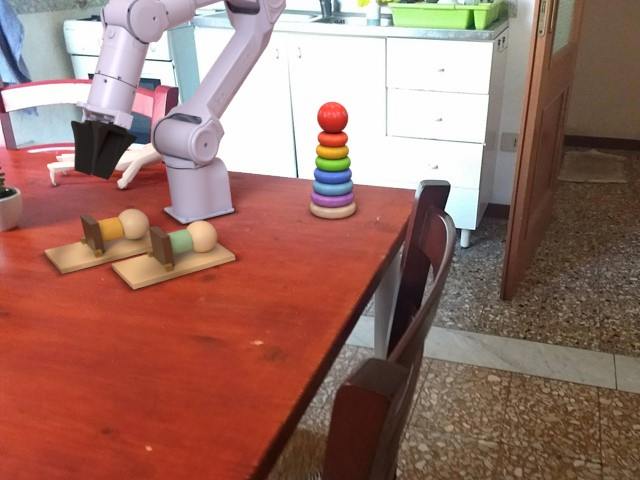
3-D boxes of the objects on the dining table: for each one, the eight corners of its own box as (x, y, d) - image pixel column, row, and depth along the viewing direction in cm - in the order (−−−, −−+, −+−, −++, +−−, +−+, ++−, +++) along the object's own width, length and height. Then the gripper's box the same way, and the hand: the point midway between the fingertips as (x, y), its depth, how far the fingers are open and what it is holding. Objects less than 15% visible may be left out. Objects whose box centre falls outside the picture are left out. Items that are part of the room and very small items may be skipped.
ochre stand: (146, 230, 102) (144, 220, 101) (166, 246, 96) (165, 236, 96) (45, 254, 93) (42, 244, 92) (62, 274, 88) (59, 263, 87)
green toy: (210, 242, 96) (206, 213, 94) (224, 252, 93) (221, 222, 91) (153, 257, 91) (148, 227, 89) (166, 268, 88) (161, 237, 86)
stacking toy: (345, 223, 106) (343, 109, 97) (302, 216, 108) (296, 105, 99) (362, 207, 113) (362, 100, 104) (321, 201, 115) (317, 95, 106)
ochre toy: (144, 230, 100) (139, 202, 97) (156, 239, 97) (151, 211, 94) (86, 243, 95) (79, 215, 92) (96, 254, 92) (90, 224, 89)
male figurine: (52, 202, 117) (188, 178, 118) (38, 170, 114) (178, 146, 115) (74, 178, 129) (197, 157, 130) (62, 149, 126) (188, 128, 127)
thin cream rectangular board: (211, 242, 98) (209, 232, 97) (235, 259, 93) (234, 249, 92) (112, 268, 90) (110, 257, 89) (133, 289, 84) (131, 278, 84)
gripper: (70, 71, 92) (46, 162, 92) (104, 68, 81) (77, 170, 82) (119, 91, 97) (95, 177, 97) (157, 90, 86) (131, 186, 87)
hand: (90, 175), depth 90 cm, fingers open, 7 cm apart
